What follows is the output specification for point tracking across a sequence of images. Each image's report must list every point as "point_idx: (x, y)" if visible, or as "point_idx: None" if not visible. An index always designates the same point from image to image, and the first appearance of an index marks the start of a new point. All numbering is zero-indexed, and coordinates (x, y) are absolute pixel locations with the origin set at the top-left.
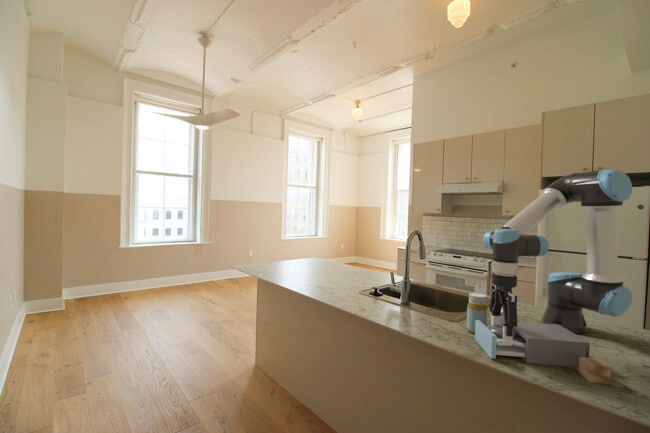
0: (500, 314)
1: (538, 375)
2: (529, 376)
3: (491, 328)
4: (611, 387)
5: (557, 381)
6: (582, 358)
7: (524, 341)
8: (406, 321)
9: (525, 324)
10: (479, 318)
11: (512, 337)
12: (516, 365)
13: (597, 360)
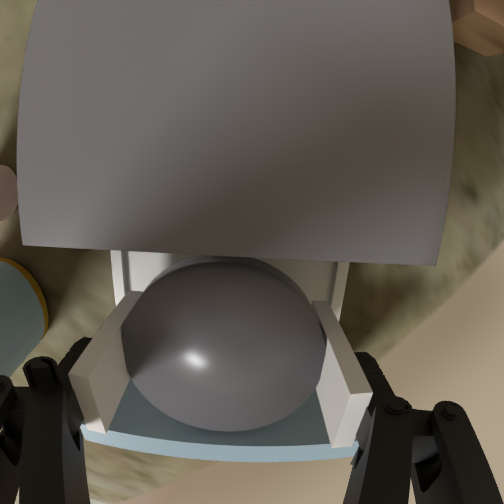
0: (50, 378)
1: (457, 234)
2: (459, 277)
3: (207, 418)
4: None
5: (491, 186)
6: (488, 14)
7: None
8: None
9: (68, 79)
10: (1, 361)
11: (343, 332)
12: (383, 284)
13: None
